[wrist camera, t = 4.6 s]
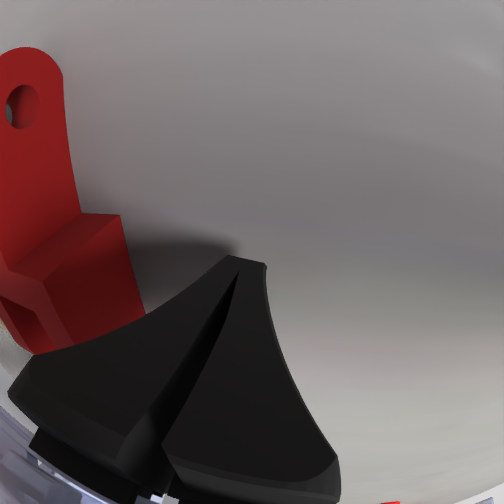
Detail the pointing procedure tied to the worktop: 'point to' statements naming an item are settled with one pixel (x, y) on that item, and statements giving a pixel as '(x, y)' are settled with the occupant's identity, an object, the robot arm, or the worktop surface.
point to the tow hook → (392, 502)
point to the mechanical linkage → (52, 223)
